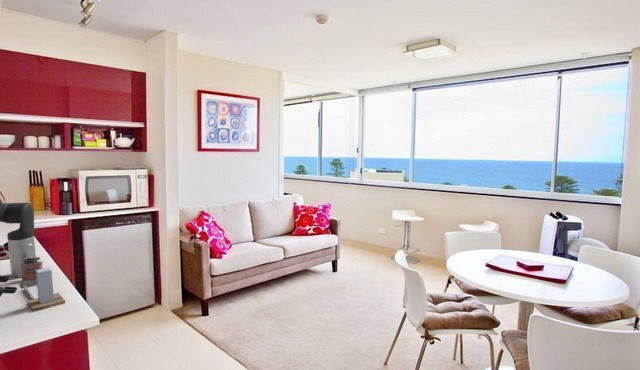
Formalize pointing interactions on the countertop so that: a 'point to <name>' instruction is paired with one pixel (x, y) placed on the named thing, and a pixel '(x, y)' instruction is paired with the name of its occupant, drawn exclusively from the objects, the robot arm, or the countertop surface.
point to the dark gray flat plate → (29, 283)
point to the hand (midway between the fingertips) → (11, 284)
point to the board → (37, 305)
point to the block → (44, 285)
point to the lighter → (30, 268)
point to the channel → (28, 292)
